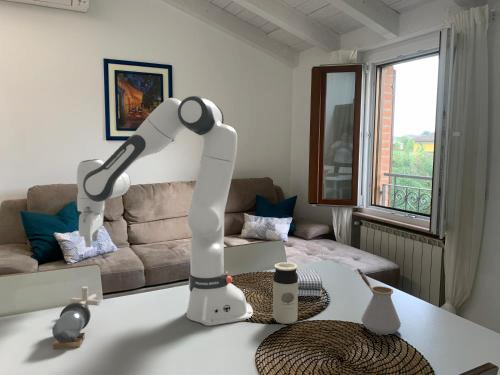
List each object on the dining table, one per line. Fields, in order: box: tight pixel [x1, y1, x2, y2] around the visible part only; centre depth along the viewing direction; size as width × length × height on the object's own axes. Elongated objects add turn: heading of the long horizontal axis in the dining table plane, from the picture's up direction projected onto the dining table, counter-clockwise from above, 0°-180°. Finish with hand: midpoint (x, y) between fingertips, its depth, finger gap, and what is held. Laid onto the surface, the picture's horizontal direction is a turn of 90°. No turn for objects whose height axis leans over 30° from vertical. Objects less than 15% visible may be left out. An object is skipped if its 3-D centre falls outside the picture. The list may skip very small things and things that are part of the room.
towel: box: [296, 268, 323, 297], centre depth 154 cm, size 15×18×8 cm
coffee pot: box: [354, 268, 402, 336], centre depth 124 cm, size 21×12×15 cm, turn 13°
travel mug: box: [272, 262, 299, 325], centre depth 126 cm, size 8×8×18 cm
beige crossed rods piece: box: [69, 285, 101, 310], centre depth 128 cm, size 10×10×10 cm
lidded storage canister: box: [51, 302, 92, 350], centre depth 112 cm, size 10×8×9 cm
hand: (91, 243), depth 138 cm, fingers open, 8 cm apart
